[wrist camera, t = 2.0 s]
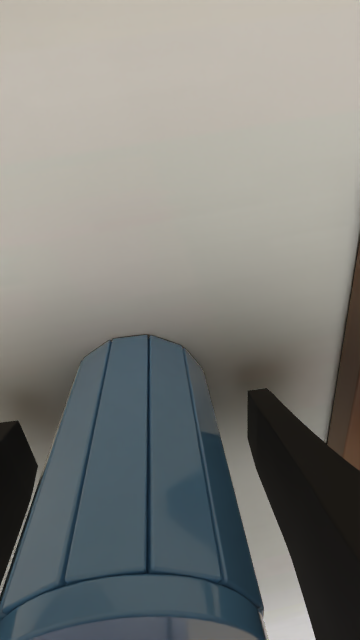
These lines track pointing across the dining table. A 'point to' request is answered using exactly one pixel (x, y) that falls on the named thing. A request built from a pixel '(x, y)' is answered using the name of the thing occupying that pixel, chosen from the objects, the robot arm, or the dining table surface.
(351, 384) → the rack
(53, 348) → the dining table surface
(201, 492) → the cup
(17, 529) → the robot arm
